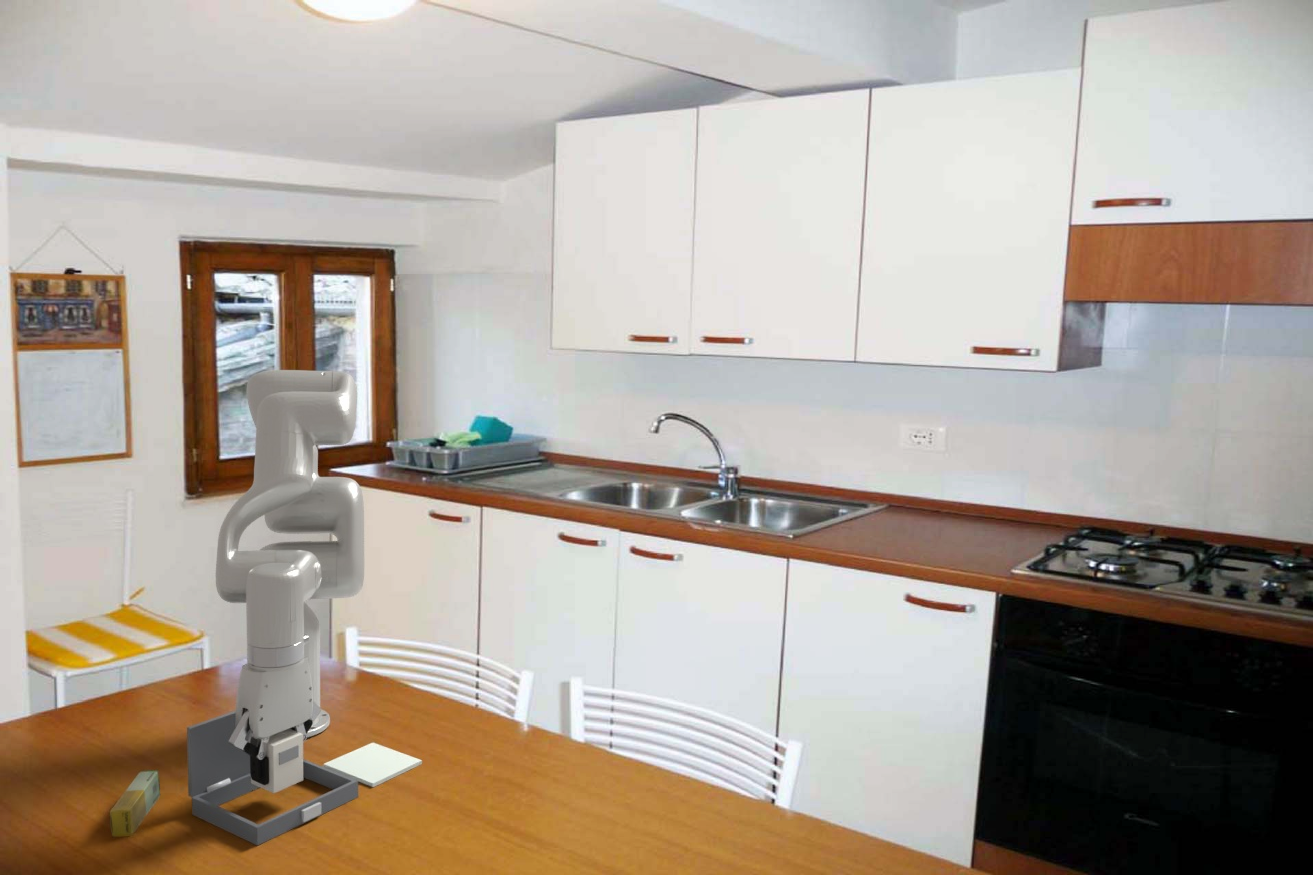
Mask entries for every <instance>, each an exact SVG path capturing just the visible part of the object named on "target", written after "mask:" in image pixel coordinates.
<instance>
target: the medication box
mask: <svg viewBox="0 0 1313 875" xmlns="http://www.w3.org/2000/svg"><path fill="white" fill-rule="evenodd" d="M160 797H161V784H160V774H159V770H157V769H155V770H154V769H152V770H151V769H150V770H141V771H139V772H138V774H137V775H136V776H135V778H134V779H133V781H132V782H130V784H129V786H128V787H127V788H126V790H125V791H124V792H123V793H122V795H121V797H119V799H118V800H117V802H116V803H115V804H114V805H113V807H111V809H110V810H109V816H110V817H109V818H110V829H111V830H110V831H111V836H112V838H114V837H116V838H117V837H118V838H119V837H120V838H121V837H132V836H133V835H134V833H136V831H137V830H138V828H139V826H140V825H142V822H143V821H144V820H145V818H146V816H147V815H148V813H150V811H151V809H152V808H154V806H155V804H156V803H157V801H158V800H159V798H160Z"/></svg>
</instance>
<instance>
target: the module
mask: <svg viewBox="0 0 1313 875" xmlns="http://www.w3.org/2000/svg"><path fill="white" fill-rule="evenodd" d="M258 743H259V740H258V741H257V745H256V747H258ZM265 756H266V757H268V758H269V783H268V784H266V785H263V784H260V783H258V782H256V781H254V780H252V778H251V783H252V784H254V785H256V786H258V787H260V789H263V790H266V791H268V792H270V793H272V794H276V793H278V792H281V791H282V790H285V789H288V788H289V787H292V786H293V785H296V784H297V783H300V782H303V781H304V777H303V759H304V742H303V734H302V733H299V732H297V731H294V730H292V729H287V730H285V731H282V732H280V733H277V734H275V735H272V736H269V741H268V745H267V750H266V754H265Z"/></svg>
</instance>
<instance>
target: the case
mask: <svg viewBox="0 0 1313 875" xmlns="http://www.w3.org/2000/svg"><path fill="white" fill-rule="evenodd" d="M235 728H236V709H235V710H232V711H229V712H226V713H224V714H221V715H219V716H218V715H217V716H216V717H212V718H210V719H207V720H204V721H202V722H198V723H196V724H193V725H189V726H187V727H186V739H187V740H186V744H187V745H186V746H187V751H186V752H187V785H188V787H187V788H188V790H187V791H188V792H187V794H188V797H190V798H191V809H192V812H191V814H192V815H193V816H195V817H196V818H197V817H198V818H199V819H201V820H202V821H203V820H204V821H205V822H207V823H209V824H212V825H214V826H216V827H217V828H220V829H222V830H224V831H226V832H228V833H230V834H233V835H235V836H237V837H239V838H241V839H243V840H245V841H247V842H249V843H251V844H253V845H255V846H260V845H262V844H265V843H267V841H270V840H272V839H274V838H277V837H278V836H280V835H283V834H284V833H286V832H289V831H291V830H292V829H295V828H297V827H299V826H301V825H303V824H305V823H307V822H310V821H311V820H314V819H316V818H318V817H319V816H322V815H324V814H326V813H328V812H330V811H333V810H334V809H336V808H339V807H340V806H342V805H344V804H347V803H349V802H351V801H353V800H355V799H357V798H359V781H358V780H355V779H353V778H350V777H348V776H345V775H343V774H340V773H338V772H335V771H332V770H330V769H327V768H325V767H323V766H322V765H319V764H317V763H314V762H312V761H310V760H307V759H304V758H303V779H304V778H305V779H307V780H309V781H311V782H314V783H317V784H319V785H321V786H323V787H327V788H328V789H331V790H330V791H328V792H326V793H323V794H321V795H319V796H317V797H315V798H313V799H310V800H308V801H306V802H305V803H302V804H300V805H297V806H295V807H293V808H291V809H289V810H286V811H285V812H282V813H280V814H278V815H275V816H273V817H272V818H270V819H267V820H266V821H263V822H261V823H255V822H254V821H252V820H250V819H247V818H246V817H242V816H240V815H239V814H237V813H234V812H232V811H230V810H227V809H226V808H223V807H220V805H223V804H226V803H228V802H230V801H233V800H235V799H236V798H239V797H241V795H242V796H243V794H244V795H246V794H248V792H249V793H251V792H253V791H256V790H257V788H258V789H259V788H260V789H261V787H258V786H256V785H254V784H252V783H251V775H250V755H248V754H246V752H244V751H243V750H241V749H240V748H237V747H235V746H233V745H231V744H229V739H230V737H231V736H232V734H233V732H234V730H235ZM249 734H250V731H248V733H247V734H246V736H245V740H246V741H247V742H248V738H249ZM255 789H256V790H255ZM252 790H253V791H252Z"/></svg>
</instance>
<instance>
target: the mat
mask: <svg viewBox="0 0 1313 875" xmlns="http://www.w3.org/2000/svg"><path fill="white" fill-rule="evenodd" d="M422 764H423V760H422V759H419V758H417V757H414V756H412V755H409V754H406V753H403V752H400V751H398V750H395V749H392V748H390V747H386V746H384V745H381V744H380V743H379V744H378V743H375V742H371V743H368V744H366V745H364V746H362V747H359V748H357V749H354V750H353V751H351V752H348V753H345V754H343V755H340V756H338V757H336V758H334V759H332V760H330V761H327V762H325V763H323V764H322V765H323V766H322V767H325V768H327V769H330V770H332V771H335V772H338V773H340V774H343V775H345V776H348V777H350V778H353V779H355V780H358V783H361V784H364V785H366V786H369V787H371V788H374V787H377V786H379V785H382V784H383V783H386V782H387V781H389V780H391V779H394V778H396V777H398V776H400V775H402V774H404V773H406V772H408V771H410V770H412V769H414V768H417V767H419V766H421V765H422Z"/></svg>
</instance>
